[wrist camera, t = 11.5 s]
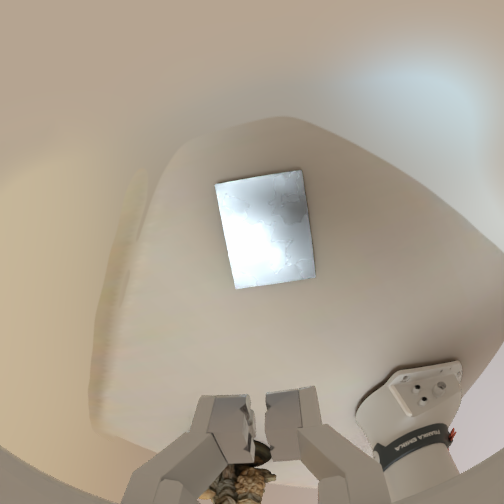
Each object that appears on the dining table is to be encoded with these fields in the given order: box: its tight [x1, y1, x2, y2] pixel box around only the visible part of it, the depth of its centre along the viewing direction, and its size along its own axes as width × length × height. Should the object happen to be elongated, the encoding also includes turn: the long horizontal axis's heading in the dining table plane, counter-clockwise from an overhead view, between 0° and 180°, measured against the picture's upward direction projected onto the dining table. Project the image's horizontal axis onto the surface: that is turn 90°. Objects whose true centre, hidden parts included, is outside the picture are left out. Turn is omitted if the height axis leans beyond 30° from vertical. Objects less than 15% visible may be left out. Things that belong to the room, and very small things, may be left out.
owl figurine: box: [199, 440, 276, 504], centre depth 39 cm, size 18×12×17 cm, turn 84°
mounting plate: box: [215, 170, 316, 289], centre depth 33 cm, size 10×13×1 cm
